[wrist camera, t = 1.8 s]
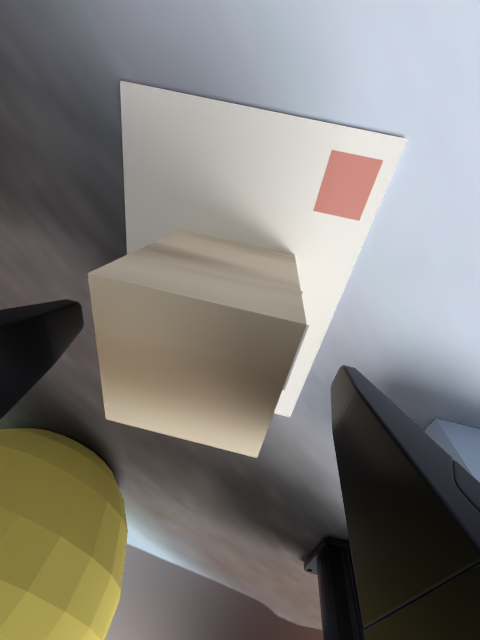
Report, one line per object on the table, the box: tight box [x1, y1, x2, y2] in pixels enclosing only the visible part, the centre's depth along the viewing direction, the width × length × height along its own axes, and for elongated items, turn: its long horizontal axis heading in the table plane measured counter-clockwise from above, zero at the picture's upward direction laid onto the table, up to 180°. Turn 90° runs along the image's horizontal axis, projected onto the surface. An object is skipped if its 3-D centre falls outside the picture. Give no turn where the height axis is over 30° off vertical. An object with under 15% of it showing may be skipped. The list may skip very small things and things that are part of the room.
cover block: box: [88, 230, 307, 458], centre depth 9 cm, size 5×5×6 cm
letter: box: [120, 81, 408, 417], centre depth 12 cm, size 14×10×1 cm
